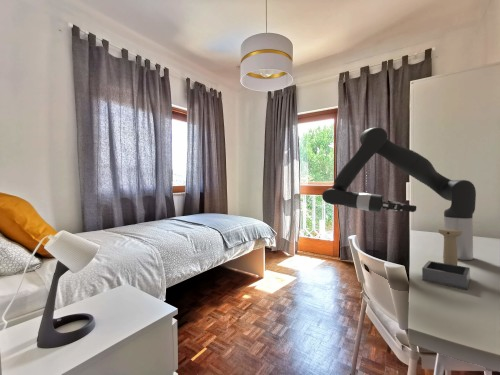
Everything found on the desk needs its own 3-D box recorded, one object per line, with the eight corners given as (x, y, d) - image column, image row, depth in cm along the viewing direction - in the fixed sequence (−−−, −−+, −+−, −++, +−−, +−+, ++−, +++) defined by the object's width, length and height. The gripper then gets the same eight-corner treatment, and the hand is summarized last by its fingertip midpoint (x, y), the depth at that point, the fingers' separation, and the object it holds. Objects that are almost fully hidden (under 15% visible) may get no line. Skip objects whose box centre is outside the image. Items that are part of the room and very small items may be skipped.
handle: (460, 276, 80) (460, 232, 80) (437, 270, 85) (436, 229, 85) (463, 272, 83) (463, 230, 83) (441, 268, 88) (440, 228, 88)
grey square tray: (429, 271, 85) (428, 260, 85) (469, 279, 77) (469, 267, 77) (422, 280, 77) (422, 267, 77) (467, 290, 69) (466, 276, 69)
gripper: (367, 193, 95) (416, 199, 85) (374, 194, 106) (417, 199, 97) (365, 211, 96) (413, 219, 86) (371, 210, 107) (415, 217, 97)
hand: (415, 209), depth 91 cm, fingers open, 8 cm apart
